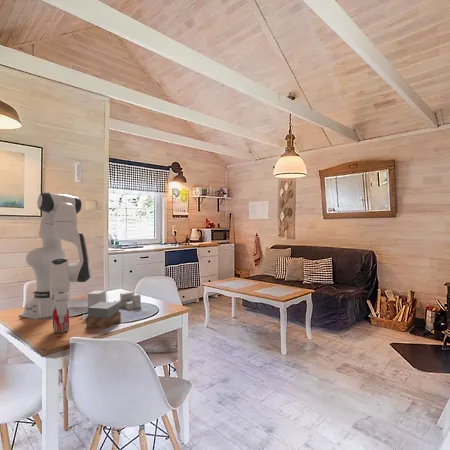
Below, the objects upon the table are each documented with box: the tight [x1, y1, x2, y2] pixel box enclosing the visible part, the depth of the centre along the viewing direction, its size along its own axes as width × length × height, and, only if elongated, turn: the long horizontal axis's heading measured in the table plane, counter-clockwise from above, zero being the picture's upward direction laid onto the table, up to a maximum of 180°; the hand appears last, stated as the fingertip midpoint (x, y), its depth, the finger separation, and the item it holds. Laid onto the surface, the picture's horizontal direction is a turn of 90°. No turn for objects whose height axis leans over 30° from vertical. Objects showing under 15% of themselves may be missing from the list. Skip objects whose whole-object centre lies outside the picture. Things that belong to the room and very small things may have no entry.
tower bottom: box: [86, 311, 122, 329], centre depth 165 cm, size 12×12×5 cm
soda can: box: [52, 307, 70, 334], centre depth 154 cm, size 7×7×12 cm
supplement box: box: [87, 290, 107, 308], centre depth 181 cm, size 7×7×13 cm
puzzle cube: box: [113, 291, 142, 310], centre depth 194 cm, size 12×12×8 cm
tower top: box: [87, 301, 120, 318], centre depth 165 cm, size 11×11×5 cm
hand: (60, 320), depth 154 cm, fingers closed on soda can, 6 cm apart
